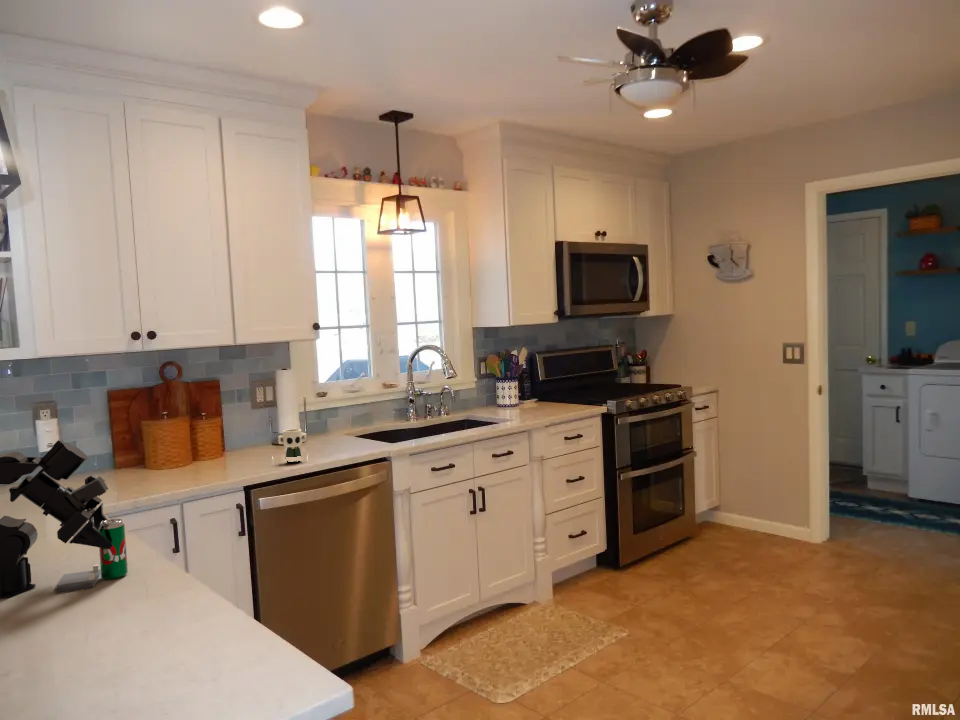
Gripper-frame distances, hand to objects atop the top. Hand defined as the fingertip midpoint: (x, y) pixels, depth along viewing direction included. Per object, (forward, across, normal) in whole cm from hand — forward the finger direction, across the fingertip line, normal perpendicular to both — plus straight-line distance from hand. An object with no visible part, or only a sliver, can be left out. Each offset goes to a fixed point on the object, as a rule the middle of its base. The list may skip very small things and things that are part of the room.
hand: (114, 541), depth 151 cm
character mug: (+40, +116, -29) cm, 126 cm away
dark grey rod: (0, -5, +11) cm, 12 cm away
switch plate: (0, 0, +10) cm, 10 cm away
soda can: (+5, 0, +6) cm, 8 cm away
